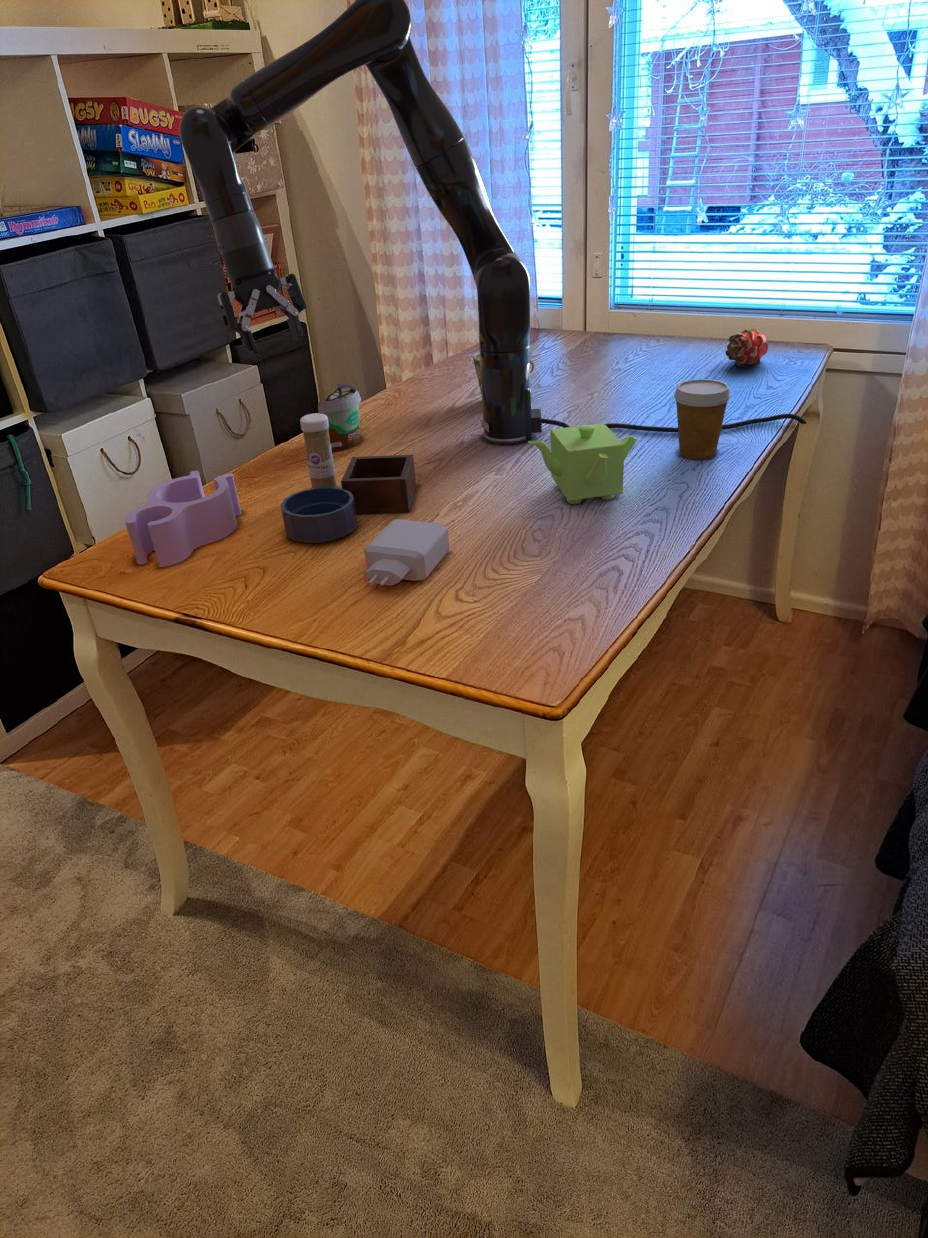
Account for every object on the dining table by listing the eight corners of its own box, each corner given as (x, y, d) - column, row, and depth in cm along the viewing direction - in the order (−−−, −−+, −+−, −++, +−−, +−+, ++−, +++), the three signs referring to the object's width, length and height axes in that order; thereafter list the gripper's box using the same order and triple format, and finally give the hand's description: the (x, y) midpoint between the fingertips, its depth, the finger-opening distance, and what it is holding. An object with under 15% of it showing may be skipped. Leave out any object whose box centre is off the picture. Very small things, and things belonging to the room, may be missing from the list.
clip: (185, 570, 131) (174, 527, 127) (116, 561, 134) (103, 520, 131) (254, 513, 146) (246, 474, 143) (191, 507, 150) (182, 469, 147)
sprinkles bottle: (310, 498, 150) (298, 422, 143) (313, 487, 154) (301, 413, 147) (337, 496, 150) (326, 420, 143) (339, 486, 154) (328, 411, 147)
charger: (347, 595, 121) (393, 546, 133) (408, 604, 118) (450, 553, 130) (342, 564, 119) (390, 518, 130) (404, 573, 115) (447, 524, 127)
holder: (416, 486, 152) (413, 454, 149) (409, 512, 143) (405, 478, 140) (356, 488, 153) (352, 456, 150) (345, 514, 144) (340, 481, 141)
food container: (355, 454, 167) (348, 402, 162) (324, 453, 168) (316, 402, 163) (373, 431, 177) (367, 382, 172) (344, 431, 178) (337, 382, 173)
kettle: (605, 518, 136) (606, 449, 131) (525, 502, 144) (523, 436, 138) (644, 483, 147) (647, 417, 141) (568, 469, 154) (568, 407, 148)
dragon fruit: (729, 378, 197) (750, 372, 205) (763, 359, 191) (783, 353, 199) (713, 344, 196) (734, 339, 205) (746, 323, 190) (767, 319, 199)
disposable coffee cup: (730, 446, 158) (736, 379, 152) (719, 465, 151) (725, 396, 145) (677, 441, 162) (681, 376, 156) (664, 460, 155) (668, 392, 149)
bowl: (362, 514, 144) (358, 485, 141) (350, 545, 134) (346, 515, 132) (295, 516, 145) (290, 487, 142) (278, 547, 135) (273, 517, 133)
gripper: (210, 252, 137) (247, 357, 143) (290, 232, 143) (322, 333, 149) (195, 260, 143) (230, 360, 149) (272, 240, 149) (303, 337, 155)
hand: (276, 346), depth 149 cm, fingers open, 8 cm apart
